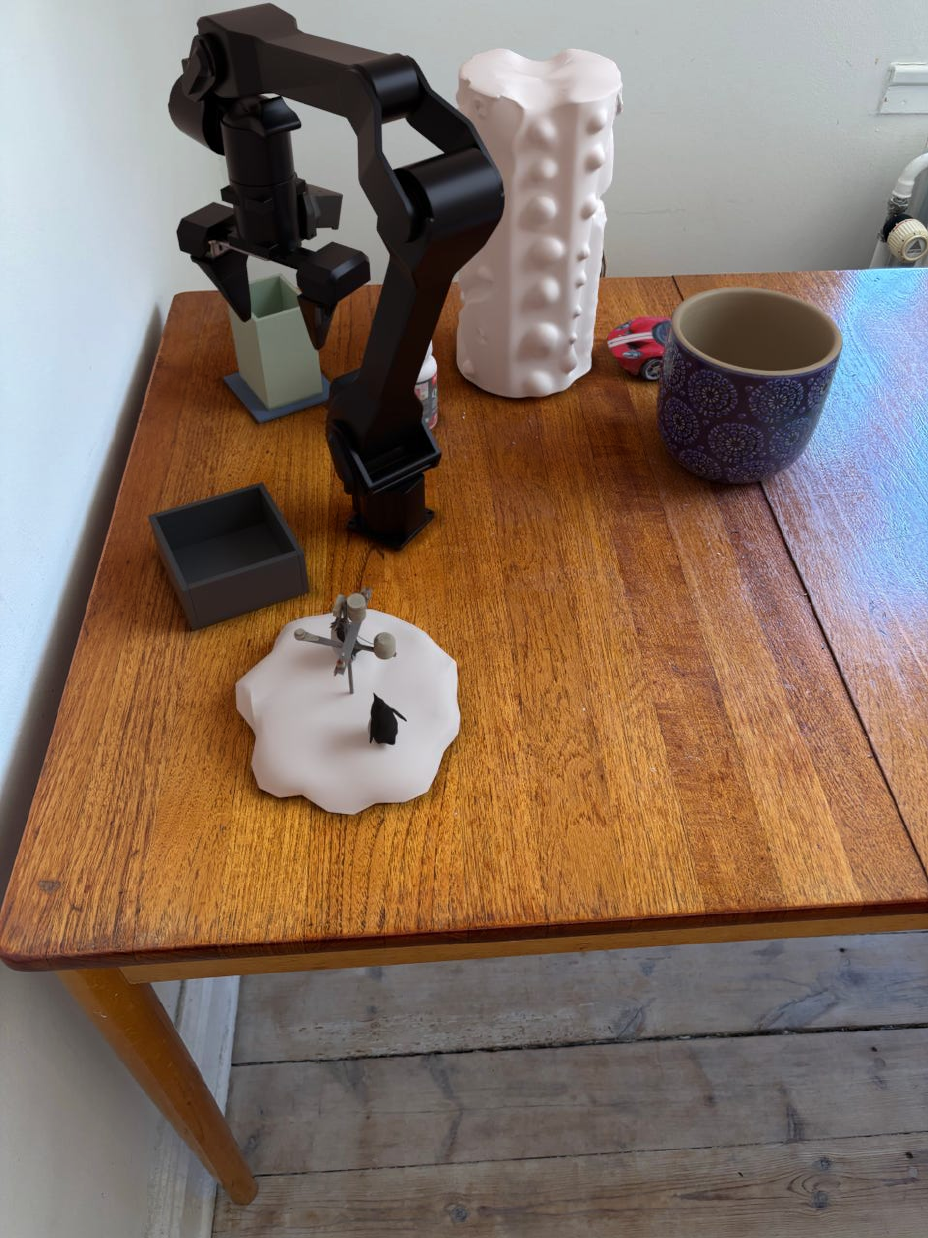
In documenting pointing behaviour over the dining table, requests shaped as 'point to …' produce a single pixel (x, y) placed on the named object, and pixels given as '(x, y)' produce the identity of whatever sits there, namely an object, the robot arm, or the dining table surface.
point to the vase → (538, 218)
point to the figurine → (350, 708)
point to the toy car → (640, 345)
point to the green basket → (276, 345)
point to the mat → (260, 410)
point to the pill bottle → (428, 388)
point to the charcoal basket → (229, 555)
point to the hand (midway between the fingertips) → (282, 333)
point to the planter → (744, 381)
